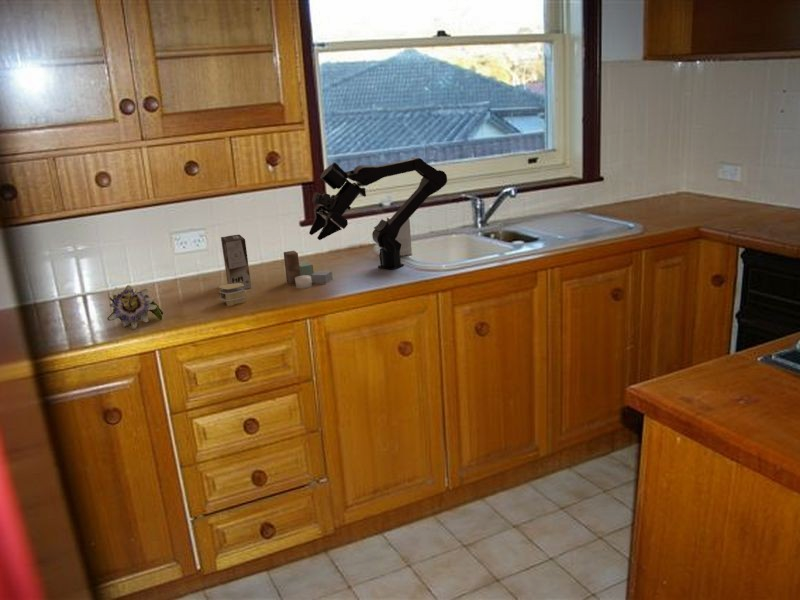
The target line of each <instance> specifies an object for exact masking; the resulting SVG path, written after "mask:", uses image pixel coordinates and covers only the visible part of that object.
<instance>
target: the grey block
mask: <svg viewBox="0 0 800 600" xmlns="http://www.w3.org/2000/svg"><path fill="white" fill-rule="evenodd" d="M331 281H333V271H332V270H316V271H315V272H314V273H313V274H312V275H311V282H312V284H321V285H322V284H323V285H324V284H328V283H330V282H331Z"/></svg>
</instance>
